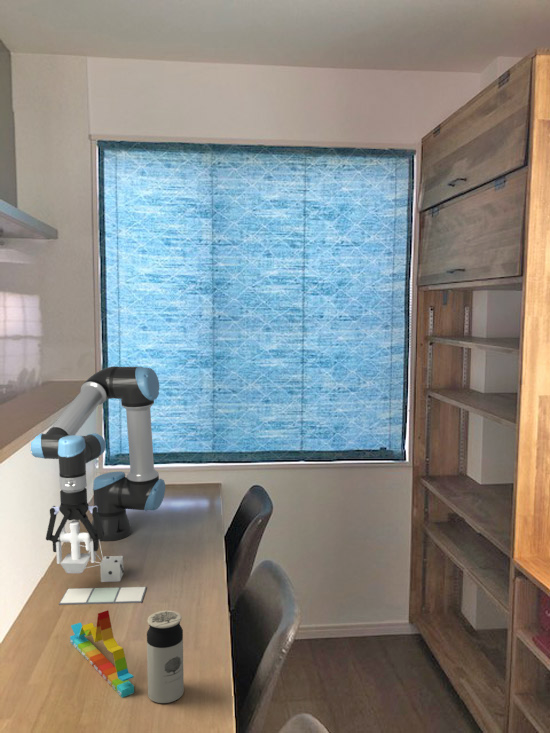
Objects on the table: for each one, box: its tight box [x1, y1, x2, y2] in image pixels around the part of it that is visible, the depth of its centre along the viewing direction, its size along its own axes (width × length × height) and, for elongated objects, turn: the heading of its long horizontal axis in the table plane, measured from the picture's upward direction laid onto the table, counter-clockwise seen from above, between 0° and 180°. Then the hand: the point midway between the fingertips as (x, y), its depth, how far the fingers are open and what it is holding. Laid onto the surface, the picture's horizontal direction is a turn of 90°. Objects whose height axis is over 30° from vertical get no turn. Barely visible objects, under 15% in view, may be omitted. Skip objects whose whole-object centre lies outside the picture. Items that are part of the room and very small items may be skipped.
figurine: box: [58, 520, 92, 574], centre depth 194 cm, size 7×9×15 cm
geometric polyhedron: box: [80, 538, 104, 569], centre depth 219 cm, size 10×9×8 cm
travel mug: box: [146, 609, 185, 704], centre depth 147 cm, size 8×8×18 cm
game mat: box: [58, 586, 147, 606], centre depth 196 cm, size 10×24×1 cm, turn 93°
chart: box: [69, 609, 135, 699], centre depth 158 cm, size 30×3×15 cm, turn 39°
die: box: [99, 555, 125, 583], centre depth 208 cm, size 6×6×6 cm
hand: (76, 561), depth 195 cm, fingers closed on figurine, 9 cm apart
